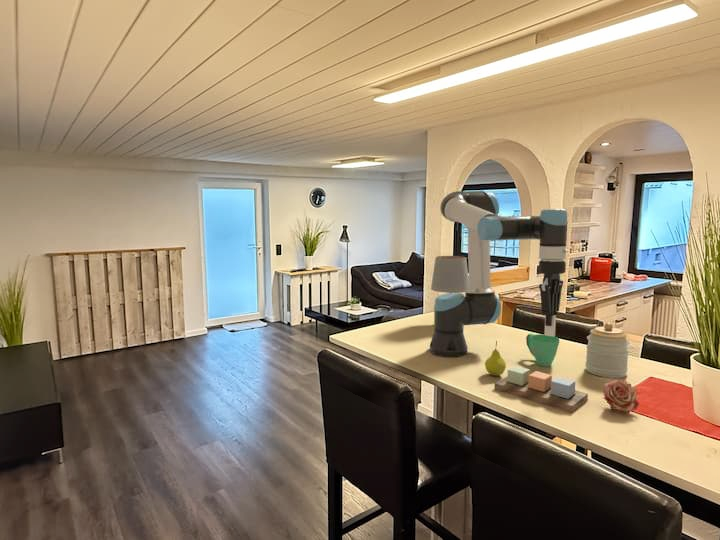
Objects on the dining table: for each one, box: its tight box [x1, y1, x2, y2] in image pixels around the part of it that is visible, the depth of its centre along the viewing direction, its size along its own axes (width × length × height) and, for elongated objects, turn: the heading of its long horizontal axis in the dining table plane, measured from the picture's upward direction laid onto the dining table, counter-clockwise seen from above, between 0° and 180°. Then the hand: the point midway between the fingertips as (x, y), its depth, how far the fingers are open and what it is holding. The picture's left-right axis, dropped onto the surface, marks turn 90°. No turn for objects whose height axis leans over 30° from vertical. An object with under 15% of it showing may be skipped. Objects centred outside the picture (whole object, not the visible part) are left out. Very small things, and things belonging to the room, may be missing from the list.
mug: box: [525, 333, 560, 367], centre depth 167 cm, size 15×10×10 cm
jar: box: [585, 322, 630, 379], centre depth 155 cm, size 13×13×18 cm
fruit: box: [484, 340, 507, 377], centre depth 153 cm, size 7×7×12 cm
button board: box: [494, 376, 589, 413], centre depth 138 cm, size 24×12×2 cm, turn 44°
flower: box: [602, 378, 640, 414], centre depth 127 cm, size 10×9×8 cm
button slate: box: [551, 376, 576, 400], centre depth 132 cm, size 5×5×4 cm
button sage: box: [506, 365, 531, 387], centre depth 142 cm, size 5×5×4 cm
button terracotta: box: [528, 370, 553, 393], centre depth 137 cm, size 5×5×4 cm
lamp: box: [430, 255, 469, 294], centre depth 222 cm, size 19×19×34 cm
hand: (549, 335), depth 138 cm, fingers closed
